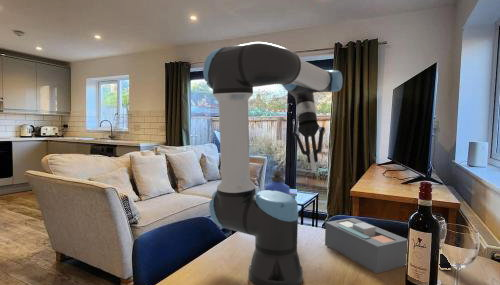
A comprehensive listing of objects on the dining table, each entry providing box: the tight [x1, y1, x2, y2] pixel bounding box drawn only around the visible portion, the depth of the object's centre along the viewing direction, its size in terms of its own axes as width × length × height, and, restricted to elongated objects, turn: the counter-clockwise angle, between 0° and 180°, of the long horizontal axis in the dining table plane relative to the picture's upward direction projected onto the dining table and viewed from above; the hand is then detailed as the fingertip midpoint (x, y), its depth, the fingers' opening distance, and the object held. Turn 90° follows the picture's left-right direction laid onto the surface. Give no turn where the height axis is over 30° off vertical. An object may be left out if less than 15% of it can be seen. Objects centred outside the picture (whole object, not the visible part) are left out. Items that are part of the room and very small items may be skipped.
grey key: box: [353, 221, 377, 237], centre depth 99 cm, size 5×5×3 cm
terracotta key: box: [371, 235, 394, 243], centre depth 92 cm, size 5×5×3 cm
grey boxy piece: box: [324, 217, 407, 274], centre depth 99 cm, size 23×13×8 cm, turn 25°
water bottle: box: [264, 170, 291, 195], centre depth 114 cm, size 9×9×25 cm
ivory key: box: [339, 221, 354, 229], centre depth 106 cm, size 5×5×3 cm
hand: (314, 170), depth 114 cm, fingers closed
